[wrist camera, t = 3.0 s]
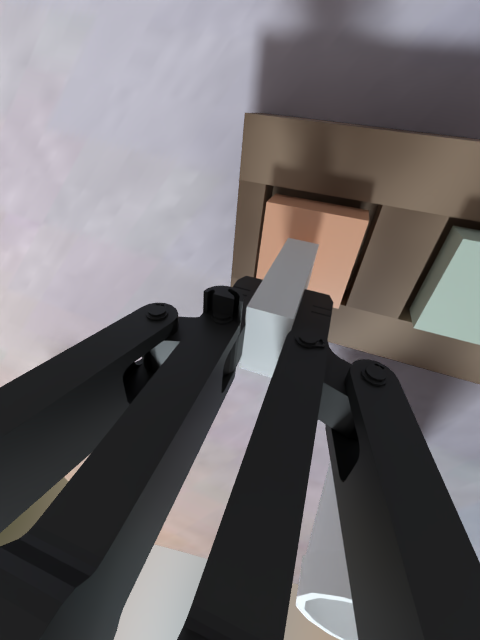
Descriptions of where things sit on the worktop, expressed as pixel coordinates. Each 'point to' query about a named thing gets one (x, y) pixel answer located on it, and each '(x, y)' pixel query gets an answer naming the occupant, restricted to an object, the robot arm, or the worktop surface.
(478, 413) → the worktop surface
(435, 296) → the sage tile
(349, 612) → the foam cup
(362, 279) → the walnut board
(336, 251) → the terracotta tile
